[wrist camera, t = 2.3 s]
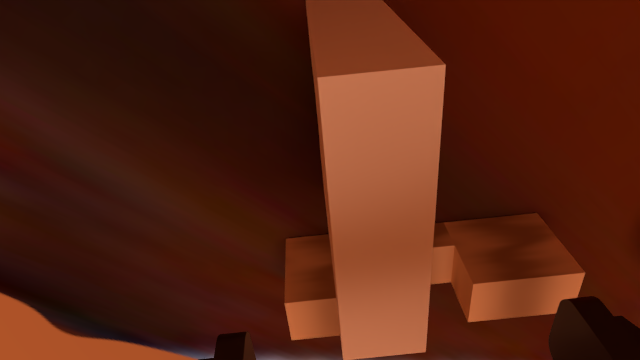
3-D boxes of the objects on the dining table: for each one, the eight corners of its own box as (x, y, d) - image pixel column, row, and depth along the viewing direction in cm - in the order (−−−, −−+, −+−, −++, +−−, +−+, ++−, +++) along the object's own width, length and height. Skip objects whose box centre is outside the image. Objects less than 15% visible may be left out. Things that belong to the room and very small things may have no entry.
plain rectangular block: (370, -13, 22) (446, 64, 11) (374, 182, 29) (425, 352, 18) (304, -6, 22) (317, 77, 11) (323, 187, 29) (343, 360, 18)
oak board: (537, 212, 31) (585, 272, 26) (528, 249, 33) (572, 311, 28) (286, 238, 31) (284, 303, 26) (291, 273, 33) (291, 340, 28)
